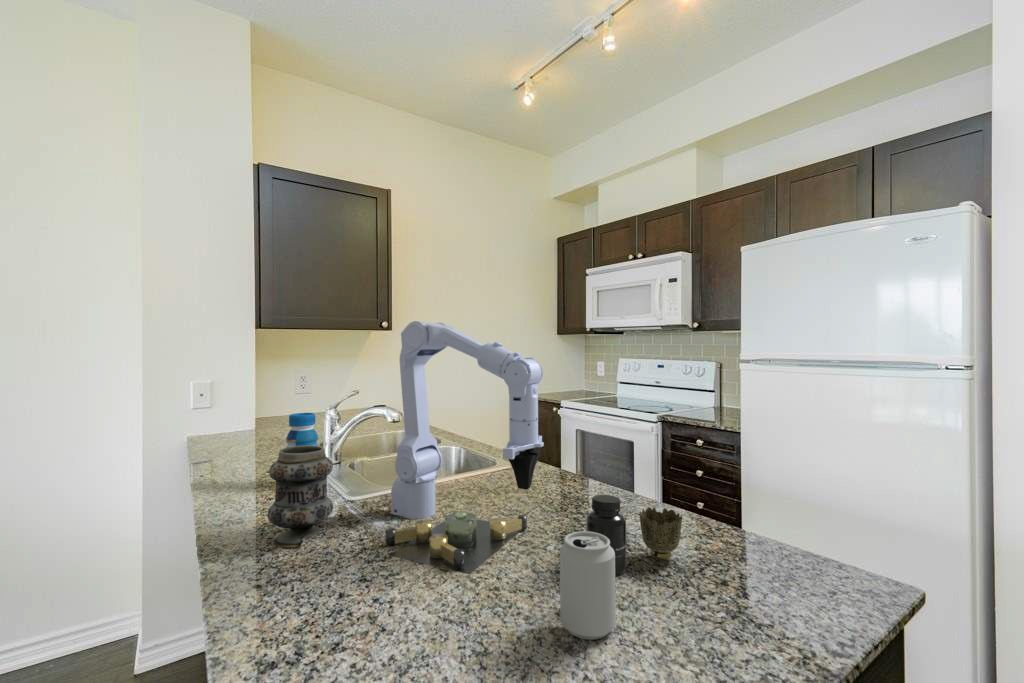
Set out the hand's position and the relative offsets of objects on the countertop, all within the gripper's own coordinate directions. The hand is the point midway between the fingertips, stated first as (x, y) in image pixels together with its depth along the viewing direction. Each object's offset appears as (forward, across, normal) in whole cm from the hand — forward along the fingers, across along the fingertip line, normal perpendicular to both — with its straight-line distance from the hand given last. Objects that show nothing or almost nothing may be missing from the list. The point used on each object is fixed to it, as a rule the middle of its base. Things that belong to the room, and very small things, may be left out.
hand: (524, 488), depth 94 cm
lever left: (+9, -12, +18) cm, 24 cm away
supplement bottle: (+11, -4, -18) cm, 21 cm away
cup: (+11, +4, -26) cm, 28 cm away
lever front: (+9, -16, +7) cm, 20 cm away
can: (+11, -22, -20) cm, 32 cm away
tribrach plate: (+10, -8, +10) cm, 16 cm away
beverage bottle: (+11, +8, +72) cm, 73 cm away
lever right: (+9, -1, +3) cm, 9 cm away
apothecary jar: (+11, -18, +42) cm, 46 cm away
